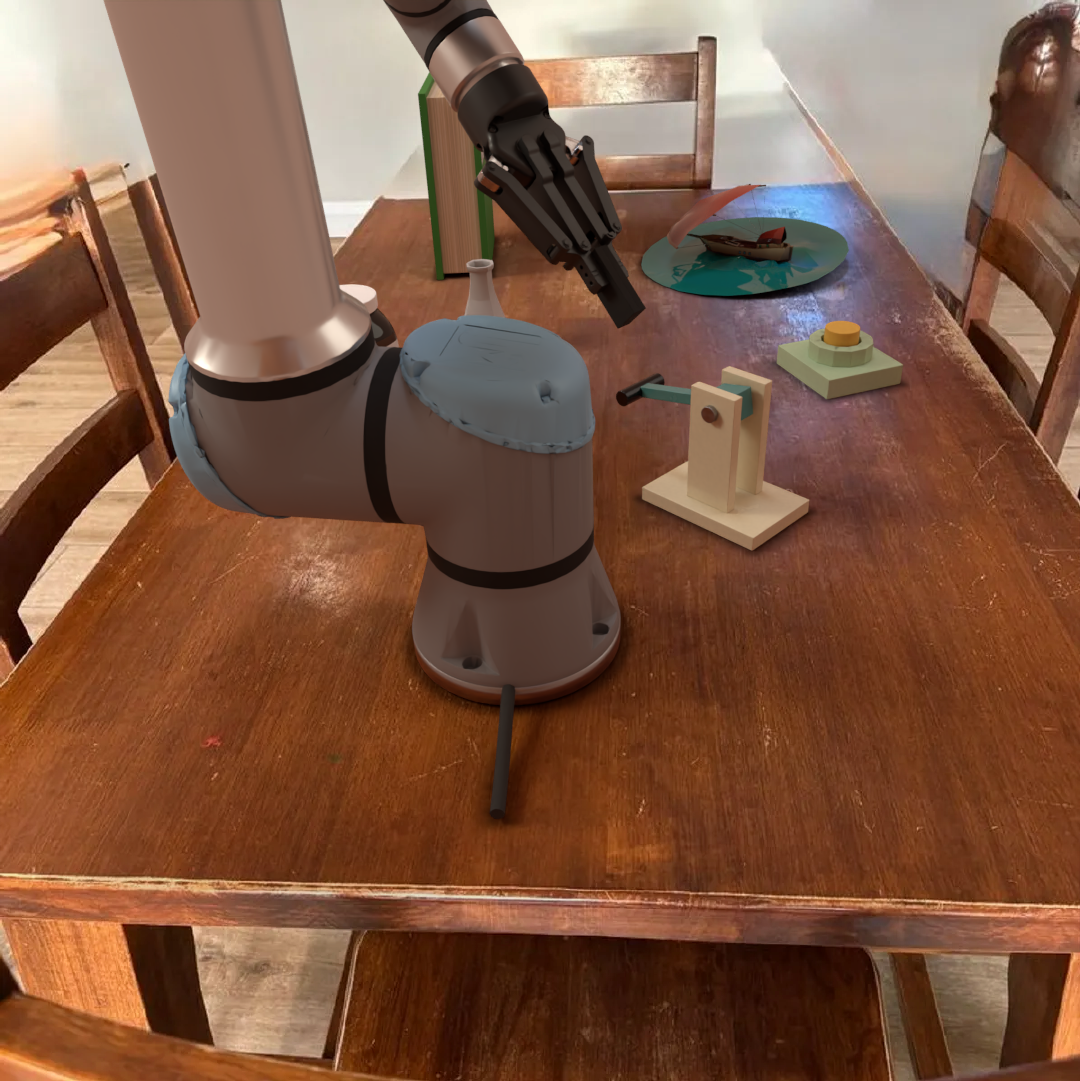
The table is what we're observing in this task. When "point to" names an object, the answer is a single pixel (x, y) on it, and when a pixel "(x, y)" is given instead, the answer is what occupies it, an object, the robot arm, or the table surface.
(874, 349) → the button box
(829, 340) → the button
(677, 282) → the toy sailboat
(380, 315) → the lidded mug
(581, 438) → the robot arm
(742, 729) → the table surface
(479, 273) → the flask
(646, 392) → the lever
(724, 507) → the wooden stand
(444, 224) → the hardback book
